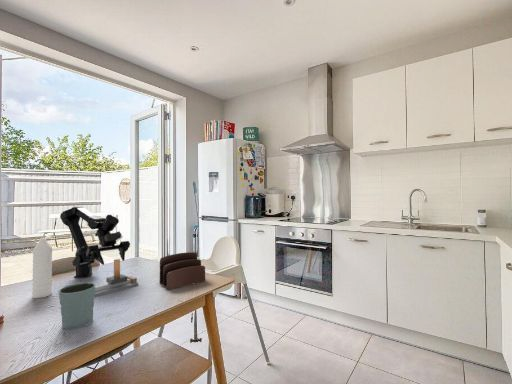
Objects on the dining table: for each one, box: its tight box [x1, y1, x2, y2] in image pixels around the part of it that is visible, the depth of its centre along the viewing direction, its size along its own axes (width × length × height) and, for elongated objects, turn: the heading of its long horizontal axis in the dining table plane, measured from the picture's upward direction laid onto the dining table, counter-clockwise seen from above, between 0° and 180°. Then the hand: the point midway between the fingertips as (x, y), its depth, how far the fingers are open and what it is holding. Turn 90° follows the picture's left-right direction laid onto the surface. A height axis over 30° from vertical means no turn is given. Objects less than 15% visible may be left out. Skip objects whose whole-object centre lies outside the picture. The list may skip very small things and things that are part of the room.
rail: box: [94, 275, 139, 298], centre depth 118 cm, size 26×9×3 cm, turn 140°
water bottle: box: [31, 235, 53, 299], centre depth 113 cm, size 9×6×25 cm
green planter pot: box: [58, 282, 96, 330], centre depth 87 cm, size 10×10×12 cm
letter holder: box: [159, 251, 206, 291], centre depth 128 cm, size 10×20×14 cm, turn 130°
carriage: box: [106, 258, 128, 285], centre depth 122 cm, size 7×6×10 cm
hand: (113, 262), depth 124 cm, fingers open, 9 cm apart
